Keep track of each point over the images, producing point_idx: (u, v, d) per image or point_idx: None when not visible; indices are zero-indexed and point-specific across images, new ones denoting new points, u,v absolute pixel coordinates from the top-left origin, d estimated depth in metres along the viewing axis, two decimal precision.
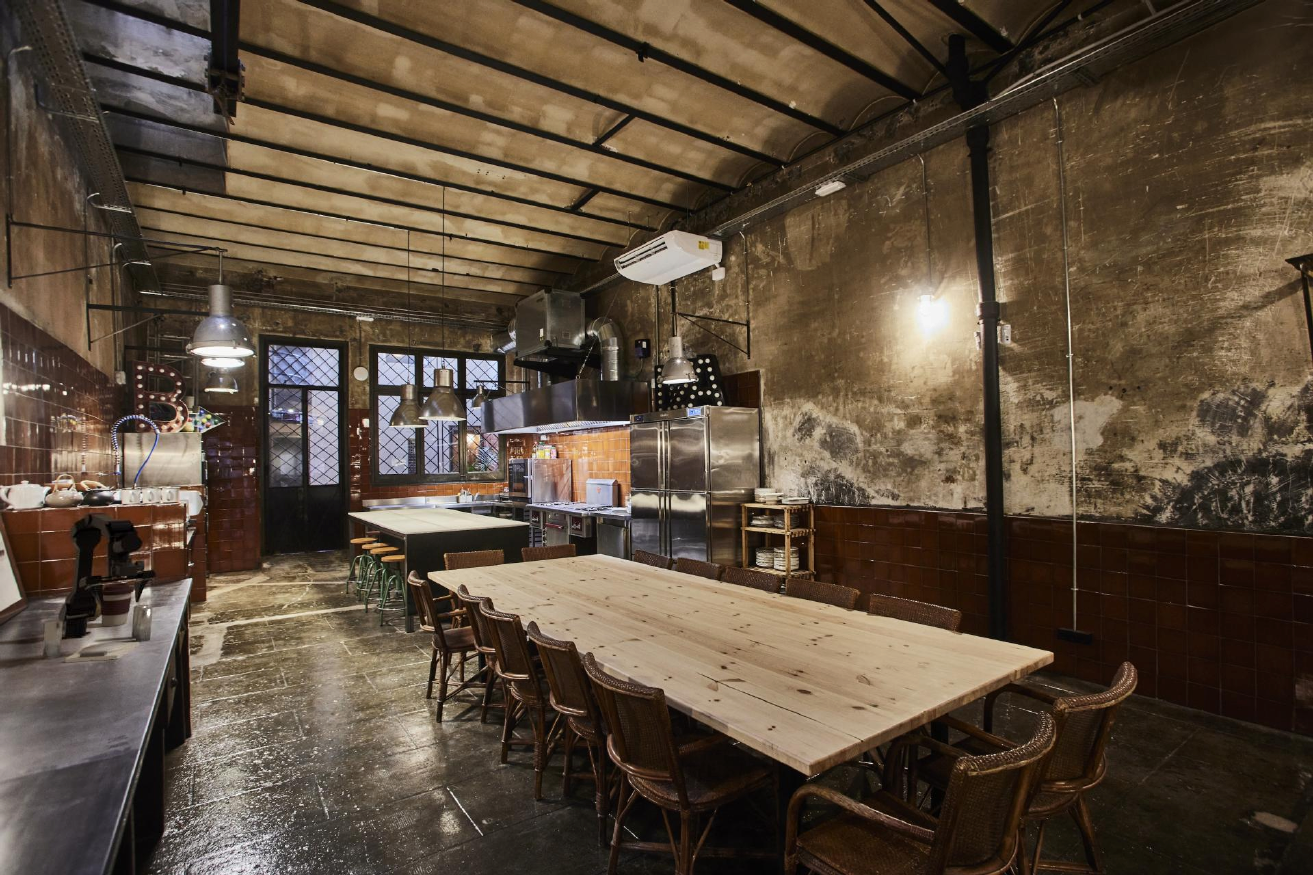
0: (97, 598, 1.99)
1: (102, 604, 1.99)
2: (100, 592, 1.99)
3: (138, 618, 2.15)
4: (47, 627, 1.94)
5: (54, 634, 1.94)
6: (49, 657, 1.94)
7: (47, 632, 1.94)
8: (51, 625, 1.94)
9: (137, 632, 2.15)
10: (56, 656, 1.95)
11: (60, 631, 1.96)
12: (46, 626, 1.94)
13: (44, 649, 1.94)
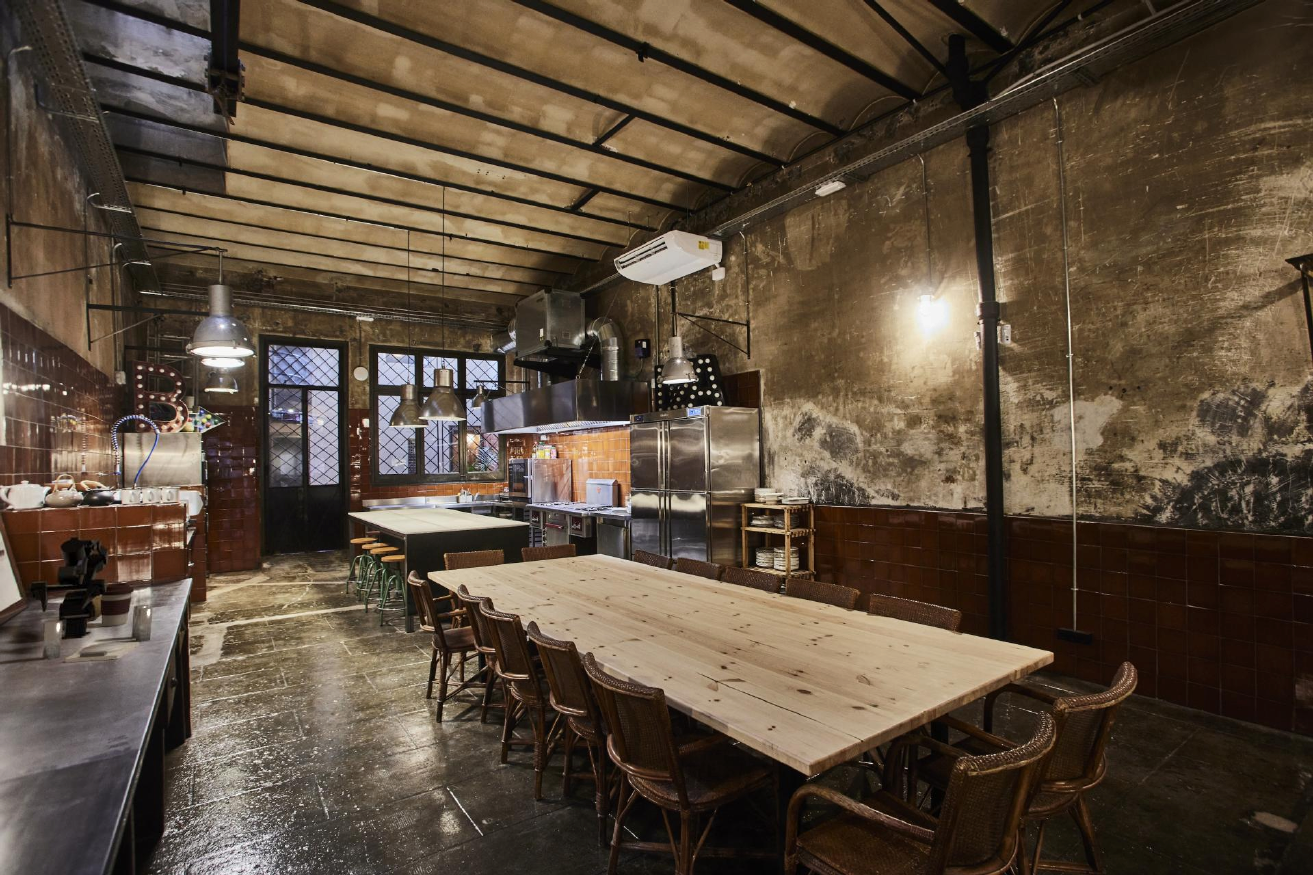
0: None
1: (43, 608, 2.01)
2: (43, 597, 2.02)
3: (138, 618, 2.15)
4: (47, 627, 1.94)
5: (54, 634, 1.94)
6: (49, 657, 1.94)
7: (47, 632, 1.94)
8: (51, 625, 1.94)
9: (137, 632, 2.15)
10: (56, 656, 1.95)
11: (60, 631, 1.96)
12: (46, 626, 1.94)
13: (44, 649, 1.94)
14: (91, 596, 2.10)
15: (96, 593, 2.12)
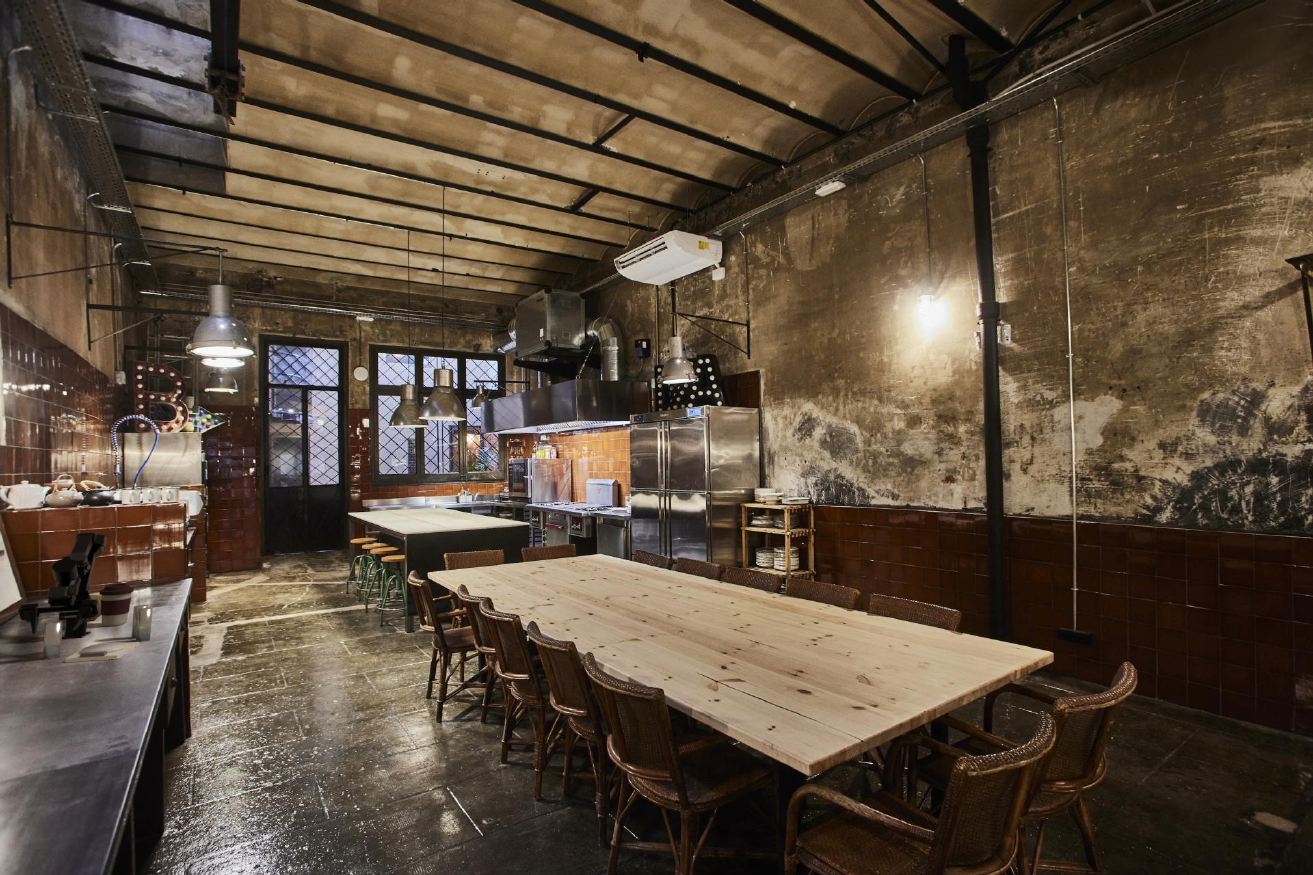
0: None
1: (33, 630, 1.93)
2: (33, 619, 1.95)
3: (138, 618, 2.15)
4: (47, 627, 1.94)
5: (54, 634, 1.94)
6: (49, 657, 1.94)
7: (47, 632, 1.94)
8: (51, 625, 1.94)
9: (137, 632, 2.15)
10: (56, 656, 1.95)
11: (60, 631, 1.96)
12: (46, 626, 1.94)
13: (44, 649, 1.94)
14: (83, 617, 2.03)
15: (88, 614, 2.04)
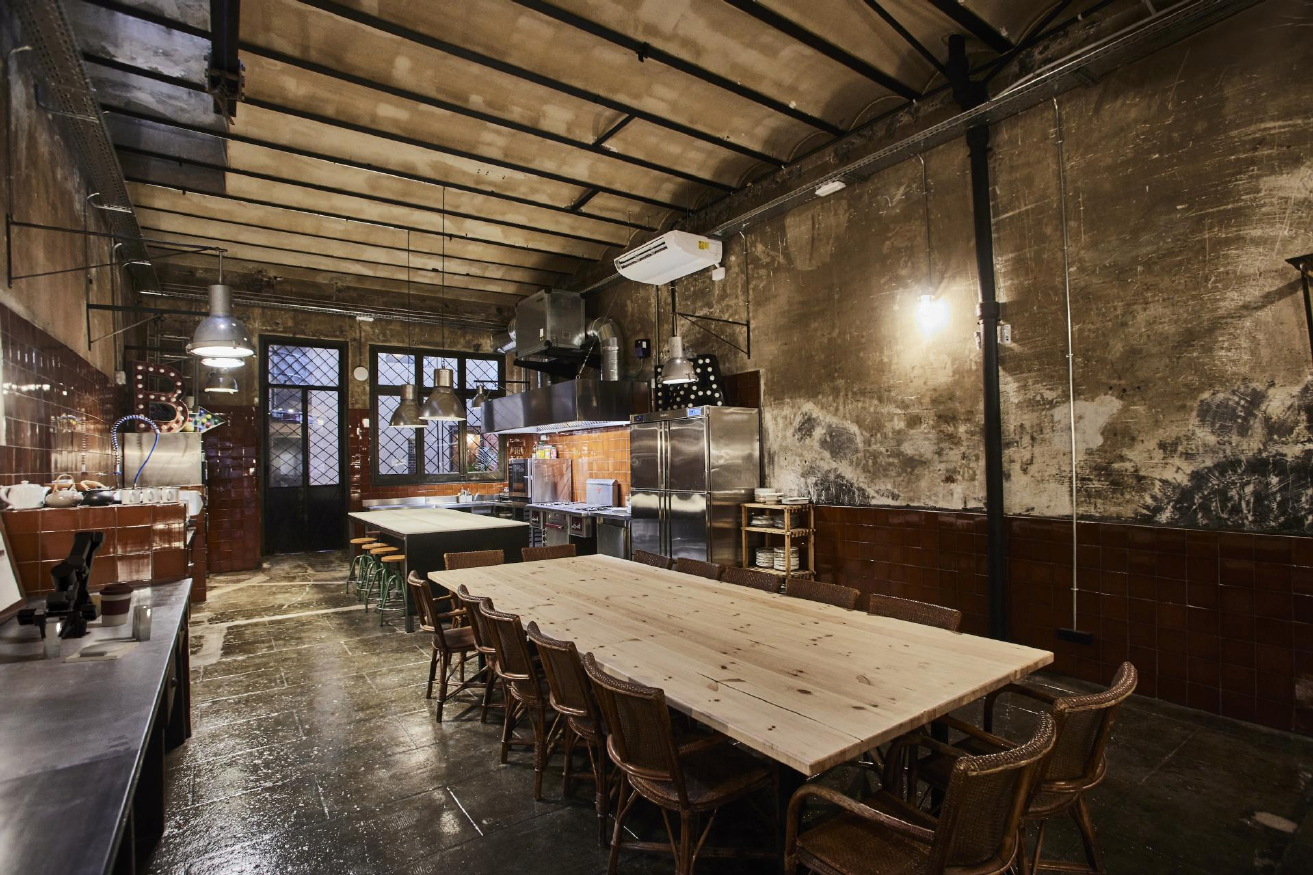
0: (40, 630, 1.95)
1: (41, 635, 1.93)
2: (41, 623, 1.95)
3: (138, 618, 2.15)
4: (47, 627, 1.94)
5: (54, 634, 1.94)
6: (49, 657, 1.94)
7: (47, 632, 1.94)
8: (51, 625, 1.94)
9: (137, 632, 2.15)
10: (56, 656, 1.95)
11: (60, 631, 1.96)
12: (46, 626, 1.94)
13: (44, 649, 1.94)
14: (72, 623, 2.00)
15: (77, 620, 2.02)
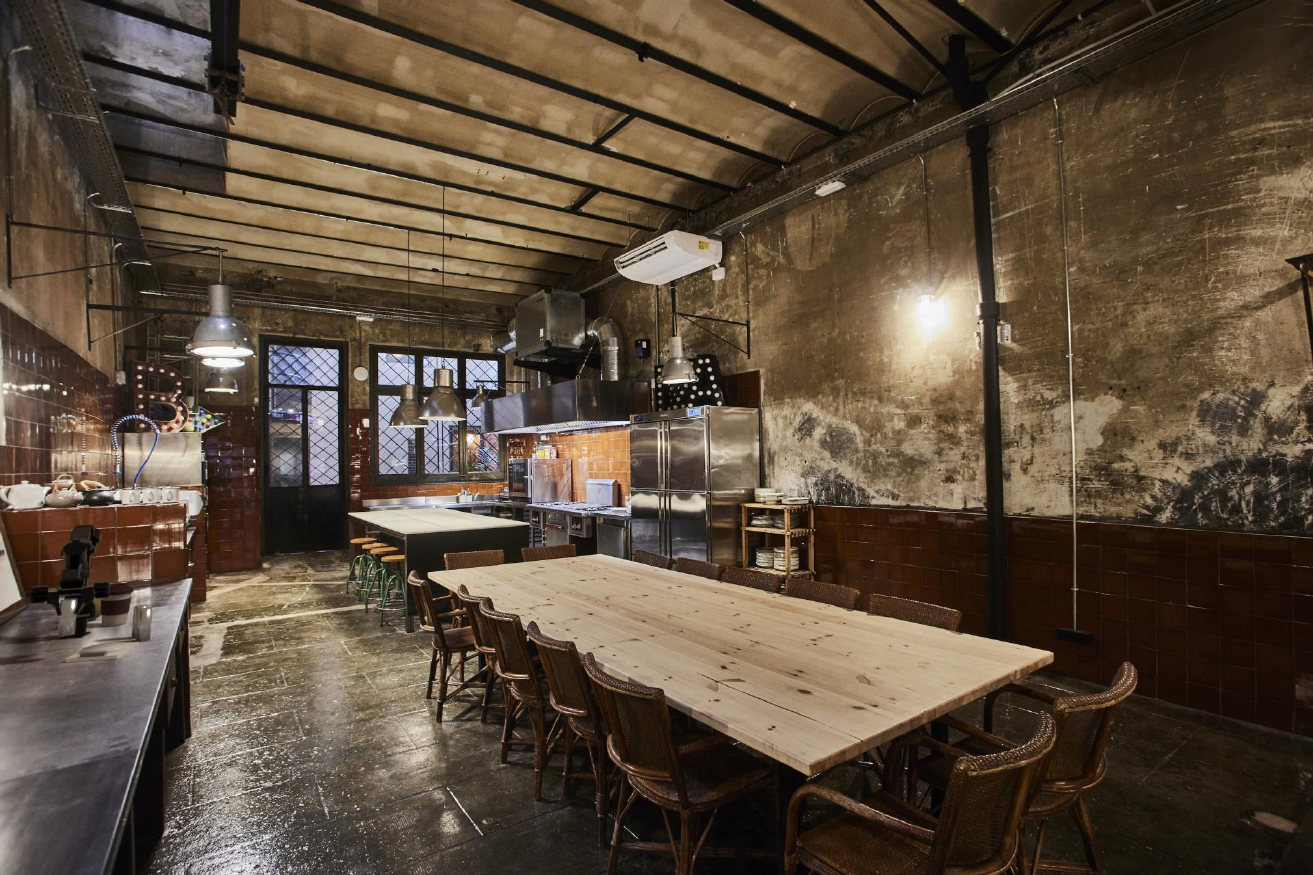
0: (54, 608, 1.96)
1: (57, 612, 1.95)
2: (56, 600, 1.96)
3: (138, 618, 2.15)
4: (63, 604, 1.95)
5: (70, 611, 1.96)
6: (65, 634, 1.95)
7: (63, 608, 1.95)
8: (67, 602, 1.95)
9: (137, 632, 2.15)
10: (72, 633, 1.96)
11: (75, 608, 1.98)
12: (62, 603, 1.95)
13: (60, 626, 1.95)
14: (85, 601, 2.02)
15: (90, 598, 2.03)
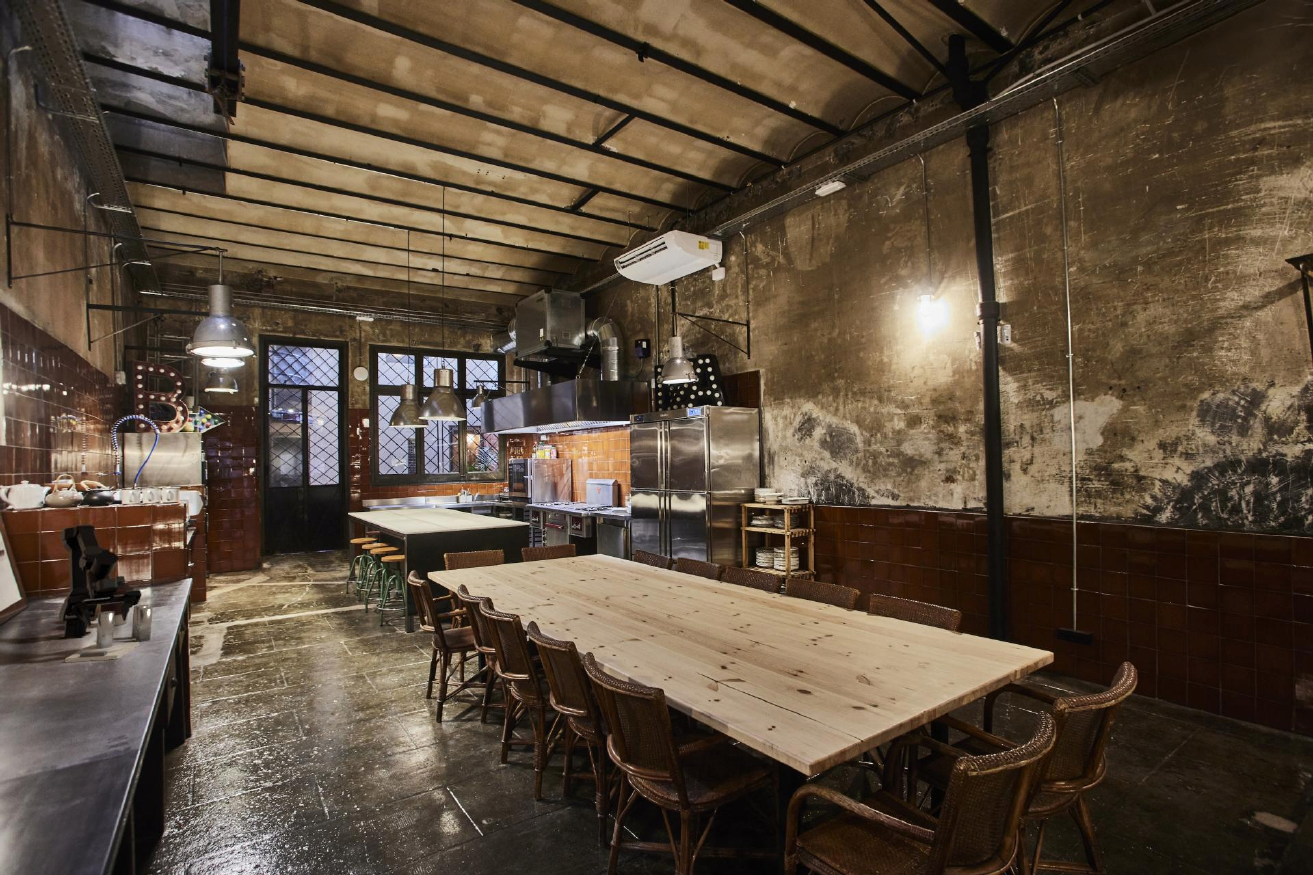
0: (84, 618, 1.97)
1: (89, 621, 1.97)
2: (85, 611, 1.98)
3: (138, 618, 2.15)
4: (103, 617, 1.99)
5: (110, 623, 2.01)
6: (106, 646, 2.00)
7: (103, 622, 1.99)
8: (107, 615, 2.00)
9: (137, 632, 2.15)
10: (111, 645, 2.01)
11: (113, 620, 2.02)
12: (101, 616, 1.99)
13: (100, 639, 1.99)
14: None
15: (130, 605, 2.09)
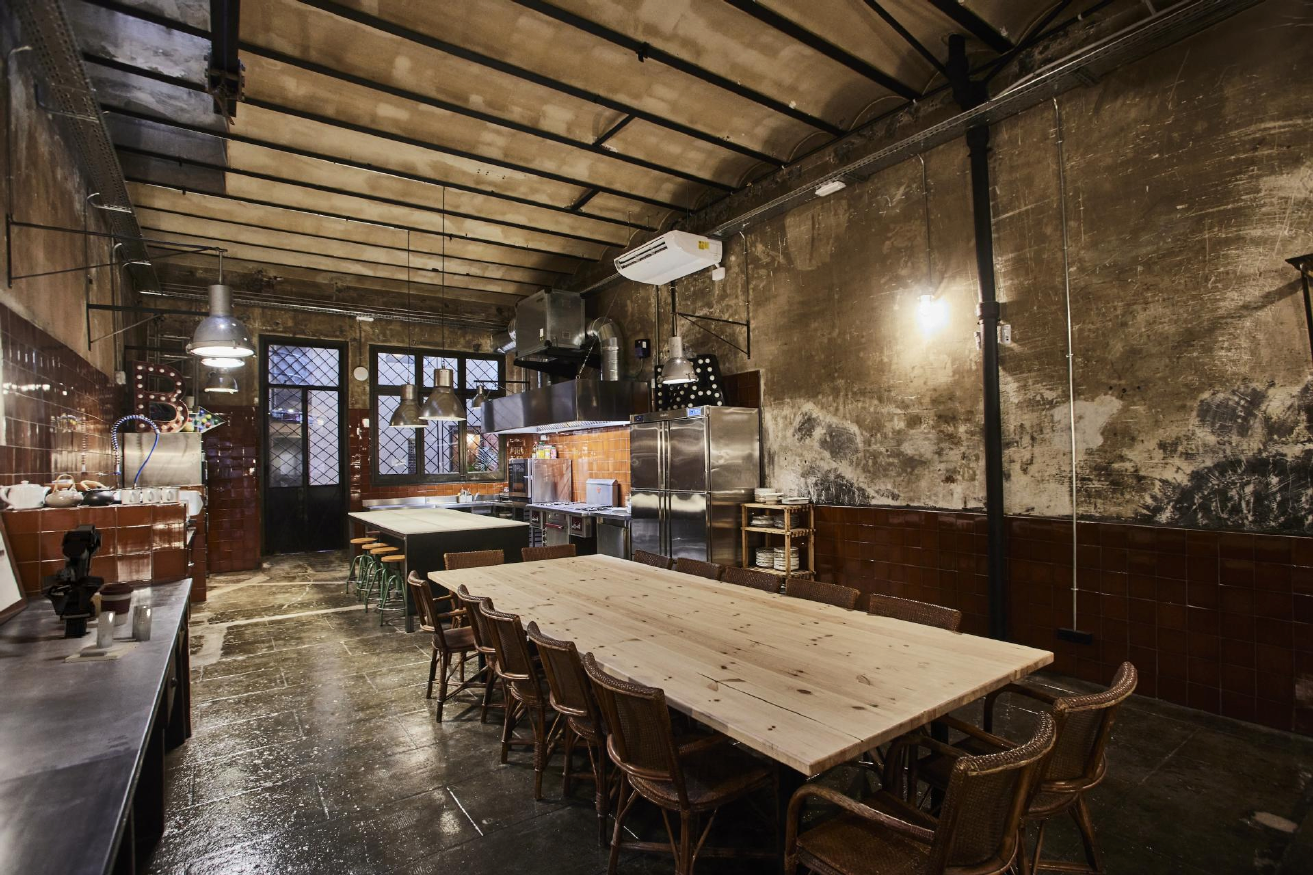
0: None
1: (56, 613, 2.04)
2: (53, 602, 2.05)
3: (138, 618, 2.15)
4: (103, 617, 2.00)
5: (110, 623, 2.01)
6: (106, 646, 2.00)
7: (104, 621, 2.00)
8: (107, 615, 2.00)
9: (137, 632, 2.15)
10: (111, 645, 2.01)
11: None
12: (102, 616, 2.00)
13: (100, 639, 1.99)
14: (91, 592, 2.06)
15: (94, 588, 2.07)
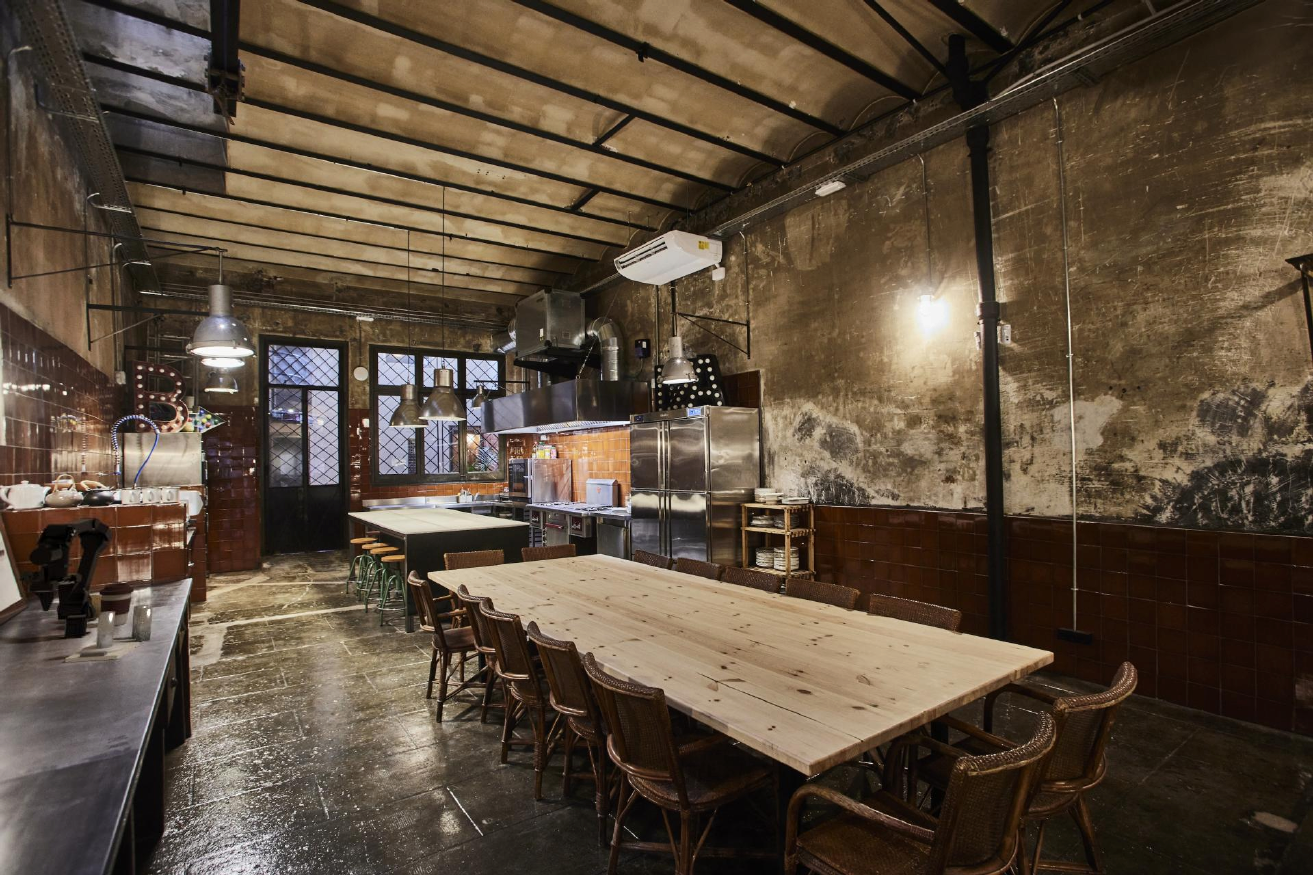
0: None
1: None
2: None
3: (138, 618, 2.15)
4: (103, 617, 2.00)
5: (110, 623, 2.01)
6: (106, 646, 2.00)
7: (104, 621, 2.00)
8: (107, 615, 2.00)
9: (137, 632, 2.15)
10: (111, 645, 2.01)
11: None
12: (102, 616, 2.00)
13: (100, 639, 1.99)
14: (49, 595, 2.01)
15: (47, 592, 2.00)
